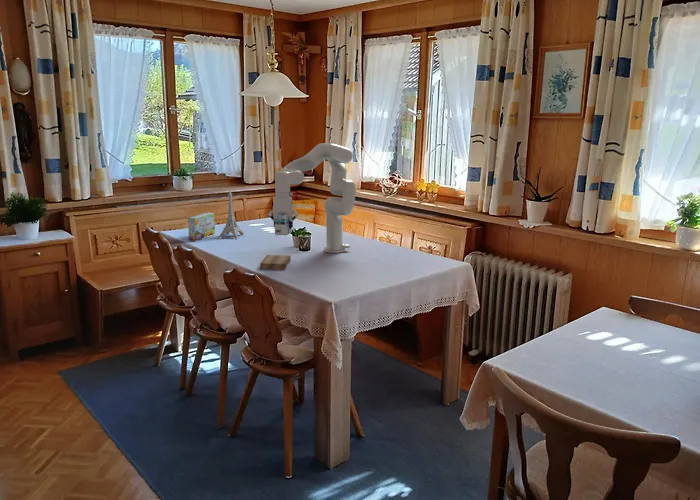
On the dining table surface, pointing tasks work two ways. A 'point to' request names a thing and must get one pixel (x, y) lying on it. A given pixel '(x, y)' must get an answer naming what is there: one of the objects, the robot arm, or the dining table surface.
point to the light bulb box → (282, 224)
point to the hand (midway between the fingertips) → (283, 228)
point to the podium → (275, 262)
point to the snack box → (201, 226)
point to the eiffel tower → (231, 221)
